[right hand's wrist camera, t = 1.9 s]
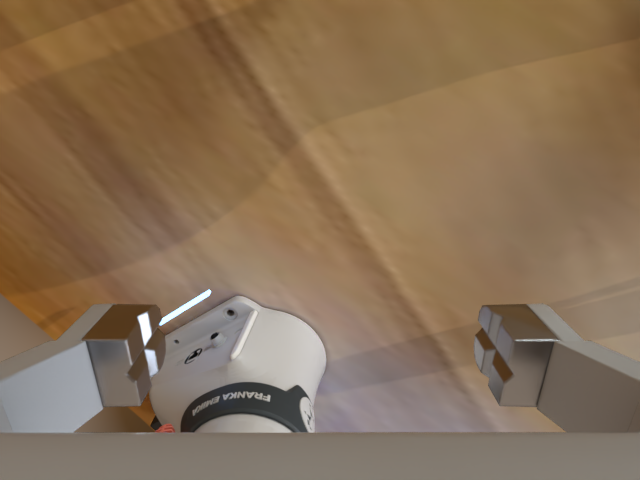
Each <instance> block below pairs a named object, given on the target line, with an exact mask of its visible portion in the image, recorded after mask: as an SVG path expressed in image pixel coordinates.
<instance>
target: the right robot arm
mask: <svg viewBox="0 0 640 480" xmlns="http://www.w3.org/2000/svg"><path fill="white" fill-rule="evenodd" d="M210 293H211V291H210V290H208V291H206V292H204V293H203V294H201V295H200V296H198V297H196V298H195V299H193V300H191V301H190V302H188V303H187V304H185V305H183V306H182V307H180V308H179V309H177V310H175V311H174V312H172V313H170V314H169V315H167V316H166V317H164V318H162V317H161V312H160V308H159V307H158V306H157V305H146V304H95V305H92V306H91V307H90V308H89V309H88V310H87V311H86V312H85V313H84V314H83V315H82V316H81V317H80V318H79V319H78V320H77V321H76V322H75V323H74V324H73V325H72V326H71V327H69V328H68V329H67V330H66V331H65V332H64V333H63V334H62V335H61V336H60V337H59V338H58V339H57V340H56V341H48V342H45V343H43V344H41V345H39V346H36V347H34V348H31V349H29V350H27V351H25V352H22V353H20V354H18V355H16V356H13V357H11V358H9V359H6V360H4V361H2V362H0V480H640V362H638V361H636V360H634V359H631V358H629V357H627V356H625V355H622V354H620V353H618V352H615V351H613V350H611V349H608V348H606V347H604V346H602V345H599V344H597V343H595V342H592V341H584V340H583V339H582V338H581V337H580V336H579V335H578V334H577V333H576V332H575V331H574V330H573V329H572V328H571V327H570V326H569V325H567V324H566V323H565V322H564V321H563V320H562V319H561V318H560V317H559V316H558V315H557V314H556V313H555V312H554V311H553V310H552V309H551V308H550V307H549V306H548V305H545V304H543V303H542V304H511V305H482V307H481V309H480V311H479V317H478V321H479V322H480V324H481V326H482V327H483V328H482V329H481V330H480V331H479V332H478V333H477V334H476V335H475V341H474V355H475V360H476V363H477V366H478V368H479V370H480V372H481V373H483V374H484V375H486V376H487V377H489V383H488V386H489V388H490V390H491V391H492V393H493V395H494V397H495V399H496V400H497V402H498V404H499V406H515V407H537V409H538V410H539V411H540V412H542V413H543V414H544V415H545V416H547V417H548V418H549V419H551V420H552V421H553V422H554V423H556V424H557V425H558V426H560V427H561V428H562V429H563V430H565V431H566V432H489V433H315V420H314V411H313V405H314V400H315V396H316V392H317V389H318V386H319V383H320V381H321V379H322V377H323V375H324V372H325V368H326V353H325V349H324V346H323V344H322V342H321V340H320V338H319V337H318V335H317V334H316V333H315V331H314V330H313V329H312V328H311V327H310V326H309V325H307V324H306V323H305V322H303V321H302V320H300V319H299V318H297V317H295V316H293V315H290V314H288V313H285V312H281V311H277V310H272V309H267V308H264V307H261V306H260V305H258V304H257V303H255V302H253V301H252V300H250V299H248V298H246V297H243V296H235V297H233V298H231V299H229V300H227V301H226V302H224V303H222V304H220V305H219V306H217V307H215V308H213V309H212V310H210V311H208V312H206V313H204V314H203V315H201V316H199V317H197V318H196V319H194V320H192V321H190V322H189V323H187V324H185V325H183V326H182V327H180V328H178V329H176V330H175V331H173V332H171V333H169V334H168V335H166V336H165V335H164V334H163V333H162V332H161V331H160V330H159V329H158V328H157V327H158V326H159V324H160V325H162V324H164V323H165V322H167V321H169V320H170V319H172V318H174V317H175V316H177V315H178V314H180V313H182V312H183V311H185V310H187V309H188V308H190V307H191V306H193V305H195V304H196V303H198V302H200V301H201V300H203V299H204V298H206V297H208V296H209V295H210ZM228 310H233V311H234V313H230V312H229V311H228ZM148 391H149V397H150V402H151V405H152V408H153V410H154V412H155V415H156V416H155V418H154V420H153V421H152V423H151V425H150V426H151V427H152V428H153V429H154V430H155V433H143V432H142V433H140V432H137V433H135V432H134V433H127V432H126V433H125V432H124V433H123V432H121V433H119V432H117V433H115V432H114V433H112V432H109V433H107V432H105V433H104V432H100V433H99V432H98V433H97V432H96V433H95V432H94V433H93V432H91V433H89V432H86V433H84V432H81V433H80V432H79V433H78V432H77V433H76V432H75V433H74V431H75V430H77V429H78V428H79V427H80V426H82V425H83V424H84V423H86V422H87V421H88V420H90V419H91V418H92V417H93V416H95V415H96V414H97V413H99V412H100V411H101V410H102V409H103V407H124V406H141V404H142V402H143V400H144V399H145V397H146V395H147V393H148Z"/></svg>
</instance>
